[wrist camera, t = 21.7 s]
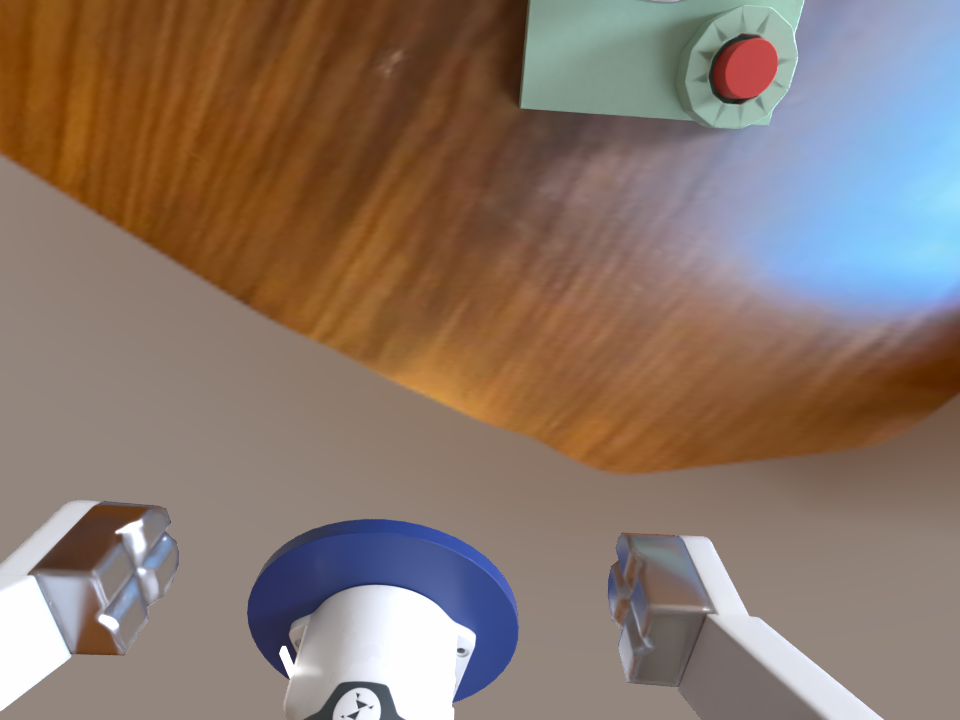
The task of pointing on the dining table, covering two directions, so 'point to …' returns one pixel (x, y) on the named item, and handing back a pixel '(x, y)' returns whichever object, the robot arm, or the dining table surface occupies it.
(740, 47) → the tare button
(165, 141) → the dining table surface
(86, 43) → the dining table surface
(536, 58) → the scale
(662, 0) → the pan
